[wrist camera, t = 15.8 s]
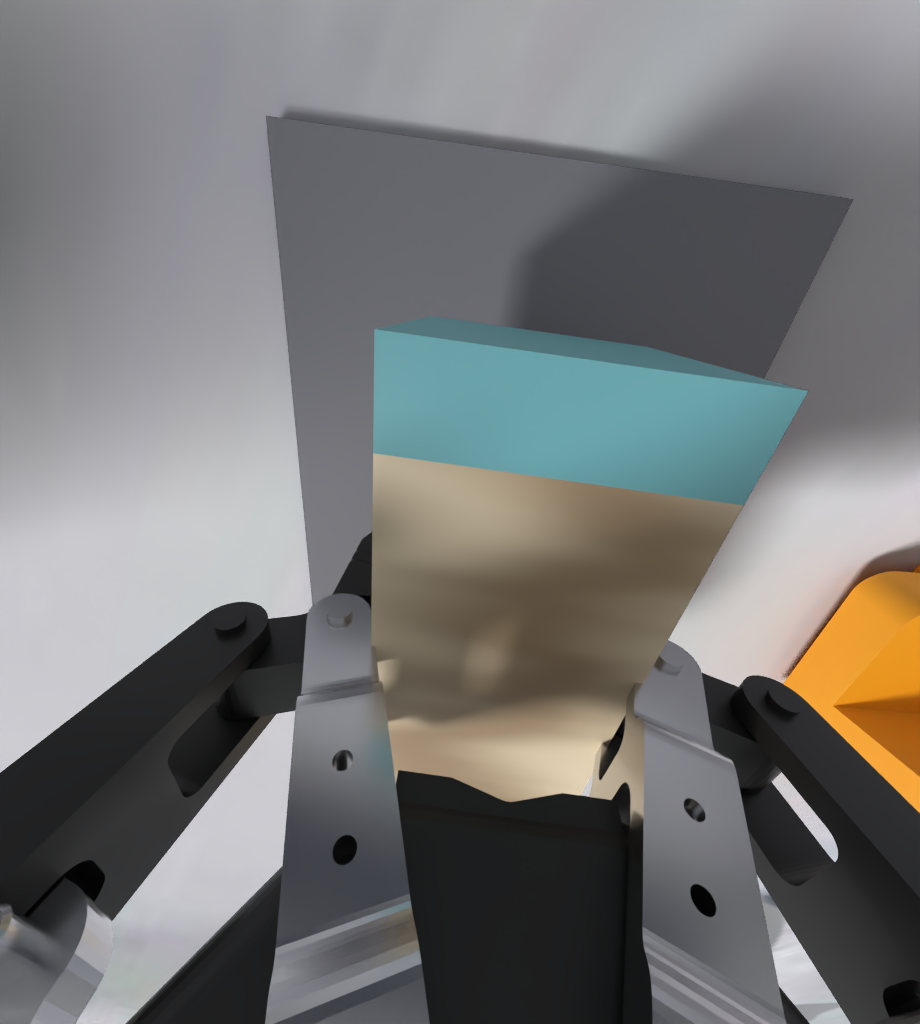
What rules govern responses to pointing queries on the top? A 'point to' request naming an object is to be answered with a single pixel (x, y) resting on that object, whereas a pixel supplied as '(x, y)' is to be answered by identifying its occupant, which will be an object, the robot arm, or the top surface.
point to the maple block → (542, 535)
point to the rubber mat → (507, 275)
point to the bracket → (872, 676)
